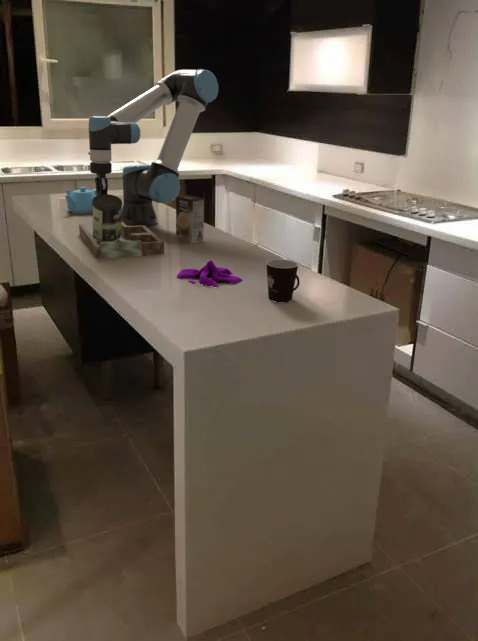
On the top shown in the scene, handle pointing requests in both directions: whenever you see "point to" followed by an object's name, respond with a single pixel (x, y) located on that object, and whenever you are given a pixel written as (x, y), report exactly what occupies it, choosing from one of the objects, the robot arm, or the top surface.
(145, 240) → the wooden compartment tray
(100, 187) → the robot arm
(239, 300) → the top surface
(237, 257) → the top surface
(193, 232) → the coffee box
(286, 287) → the coffee mug
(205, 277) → the cloth
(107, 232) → the coffee can
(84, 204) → the teapot
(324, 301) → the top surface
